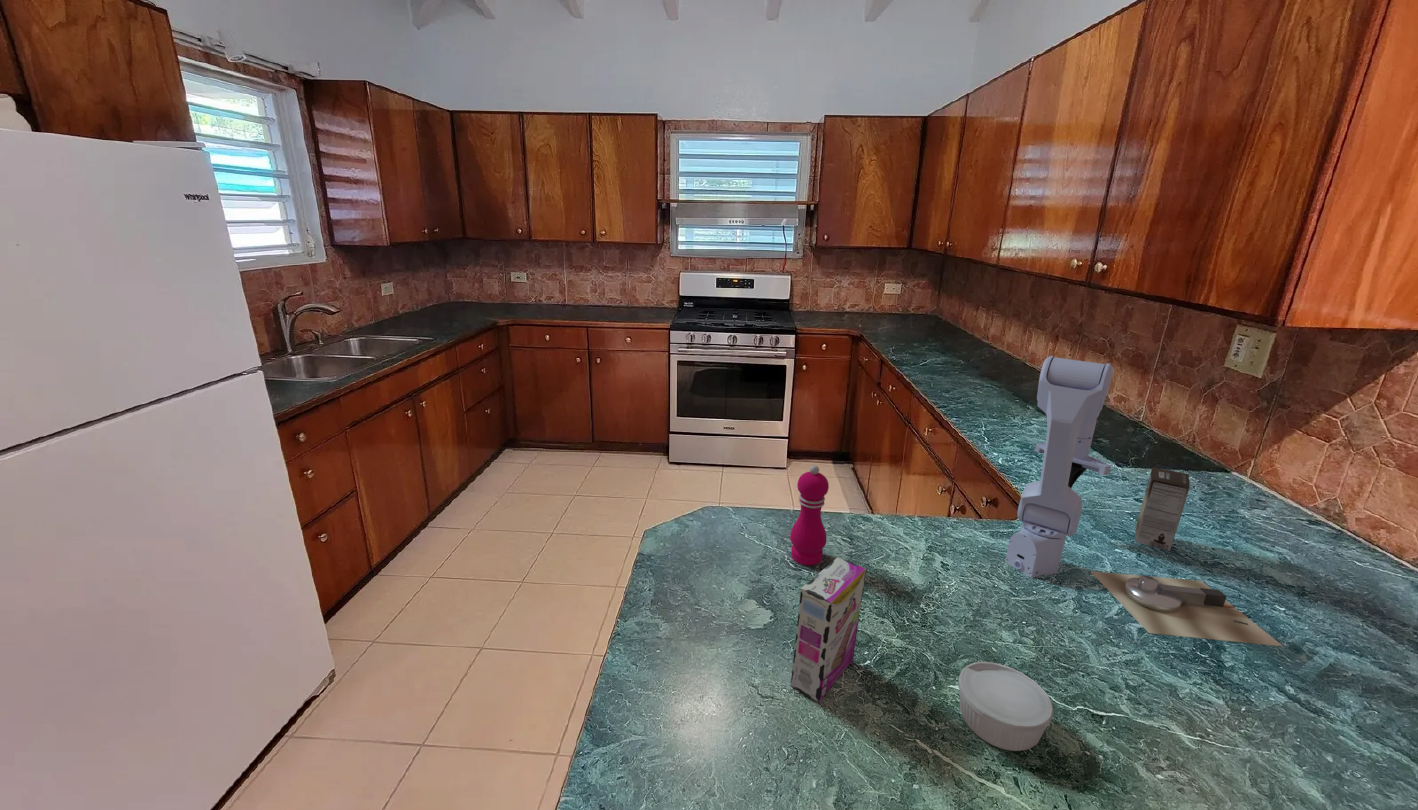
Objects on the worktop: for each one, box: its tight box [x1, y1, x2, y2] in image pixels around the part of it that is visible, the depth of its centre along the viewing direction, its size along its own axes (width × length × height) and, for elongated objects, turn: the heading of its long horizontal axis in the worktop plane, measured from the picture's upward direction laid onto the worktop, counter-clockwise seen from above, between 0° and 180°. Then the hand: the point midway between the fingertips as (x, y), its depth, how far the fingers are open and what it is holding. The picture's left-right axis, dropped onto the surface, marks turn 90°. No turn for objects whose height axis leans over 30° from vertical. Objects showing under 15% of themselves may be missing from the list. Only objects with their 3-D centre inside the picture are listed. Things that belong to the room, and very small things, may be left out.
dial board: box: [1090, 570, 1283, 647], centre depth 99 cm, size 20×18×1 cm
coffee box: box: [1134, 466, 1191, 552], centre depth 120 cm, size 9×6×16 cm
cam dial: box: [1124, 574, 1228, 612], centre depth 99 cm, size 15×8×4 cm, turn 81°
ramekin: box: [958, 661, 1054, 752], centre depth 74 cm, size 11×11×5 cm
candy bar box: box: [790, 556, 867, 703], centre depth 80 cm, size 11×5×16 cm, turn 141°
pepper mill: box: [789, 464, 830, 566], centre depth 110 cm, size 7×7×20 cm
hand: (1062, 493), depth 121 cm, fingers closed
